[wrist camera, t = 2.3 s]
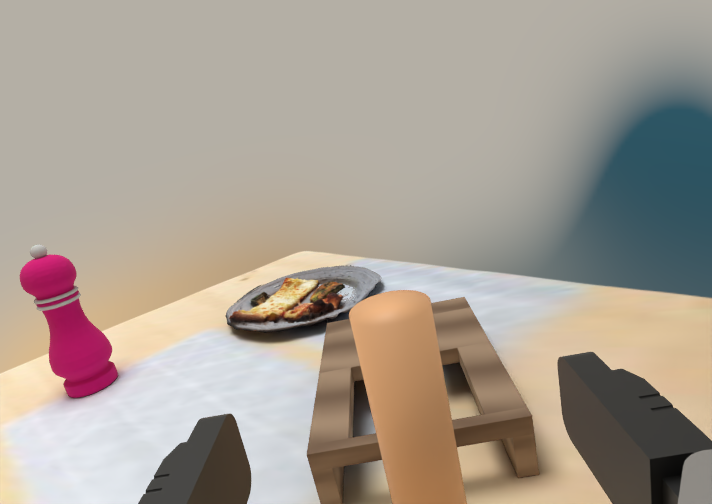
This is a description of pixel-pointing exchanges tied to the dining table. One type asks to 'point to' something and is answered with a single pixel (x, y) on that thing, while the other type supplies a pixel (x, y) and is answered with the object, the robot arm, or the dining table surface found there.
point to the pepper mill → (68, 325)
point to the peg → (408, 397)
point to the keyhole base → (497, 420)
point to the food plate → (301, 299)
